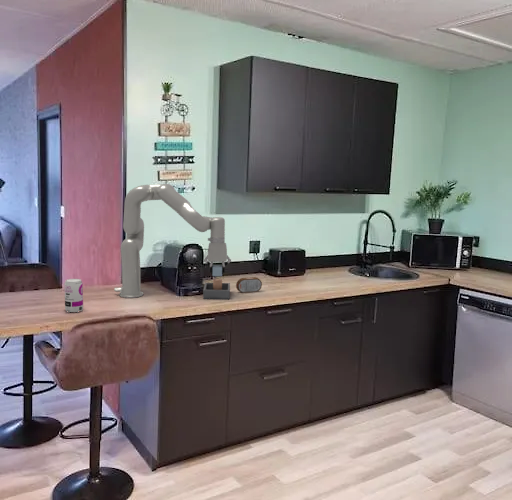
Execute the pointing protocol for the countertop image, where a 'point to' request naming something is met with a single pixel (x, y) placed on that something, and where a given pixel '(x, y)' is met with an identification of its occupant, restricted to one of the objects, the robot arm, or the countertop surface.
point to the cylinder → (217, 284)
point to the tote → (216, 292)
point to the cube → (217, 270)
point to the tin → (249, 284)
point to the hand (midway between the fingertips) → (217, 273)
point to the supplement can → (73, 295)
